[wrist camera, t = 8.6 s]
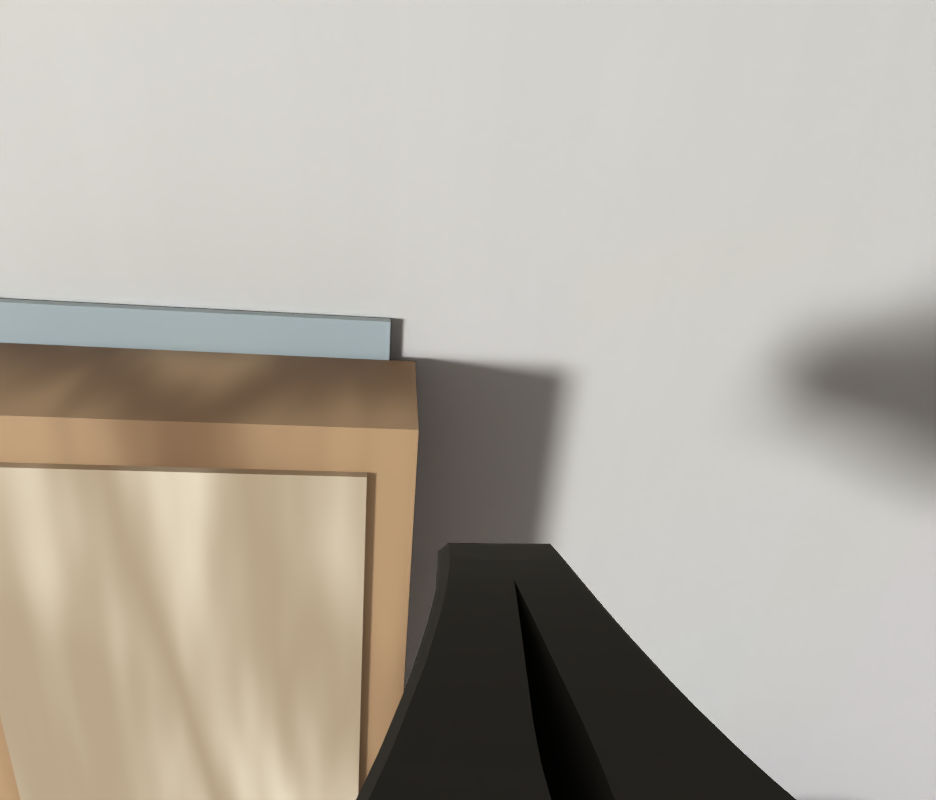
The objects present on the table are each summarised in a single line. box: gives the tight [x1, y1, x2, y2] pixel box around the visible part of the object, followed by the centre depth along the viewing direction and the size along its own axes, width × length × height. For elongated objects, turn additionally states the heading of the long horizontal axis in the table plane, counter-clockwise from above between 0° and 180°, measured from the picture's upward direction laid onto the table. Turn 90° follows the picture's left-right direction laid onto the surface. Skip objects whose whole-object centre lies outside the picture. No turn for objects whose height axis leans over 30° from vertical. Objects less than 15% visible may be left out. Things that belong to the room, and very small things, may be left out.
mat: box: [0, 298, 391, 360], centre depth 20 cm, size 11×16×1 cm
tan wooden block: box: [0, 343, 419, 800], centre depth 18 cm, size 4×14×10 cm
